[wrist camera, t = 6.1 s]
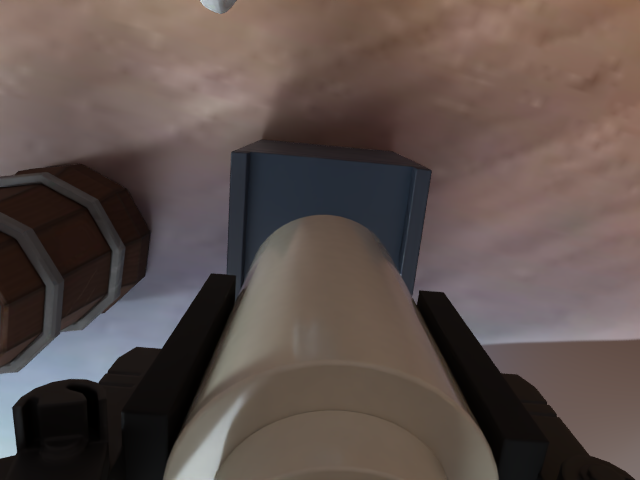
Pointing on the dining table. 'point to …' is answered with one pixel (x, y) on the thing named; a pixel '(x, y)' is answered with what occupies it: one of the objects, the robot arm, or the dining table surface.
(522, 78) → the dining table surface
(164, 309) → the dining table surface
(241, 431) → the oil bottle
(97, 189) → the mug
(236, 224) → the blue channel bracket
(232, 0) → the teacup
